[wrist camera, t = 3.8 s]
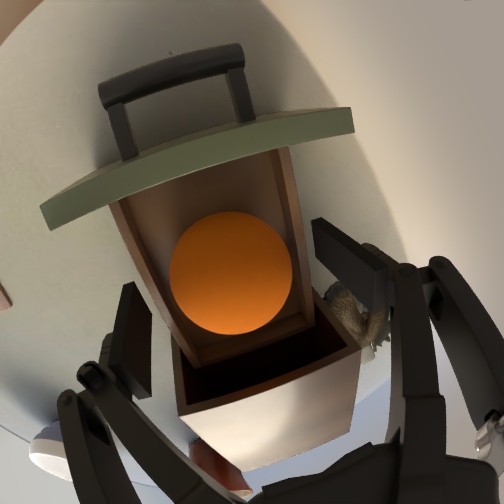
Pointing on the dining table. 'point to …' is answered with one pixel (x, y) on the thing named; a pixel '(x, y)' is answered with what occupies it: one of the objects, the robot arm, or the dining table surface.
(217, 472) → the mug
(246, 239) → the orange
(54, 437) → the bowl
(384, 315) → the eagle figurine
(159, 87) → the drawer
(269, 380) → the cabinet
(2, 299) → the coaster
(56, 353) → the dining table surface
